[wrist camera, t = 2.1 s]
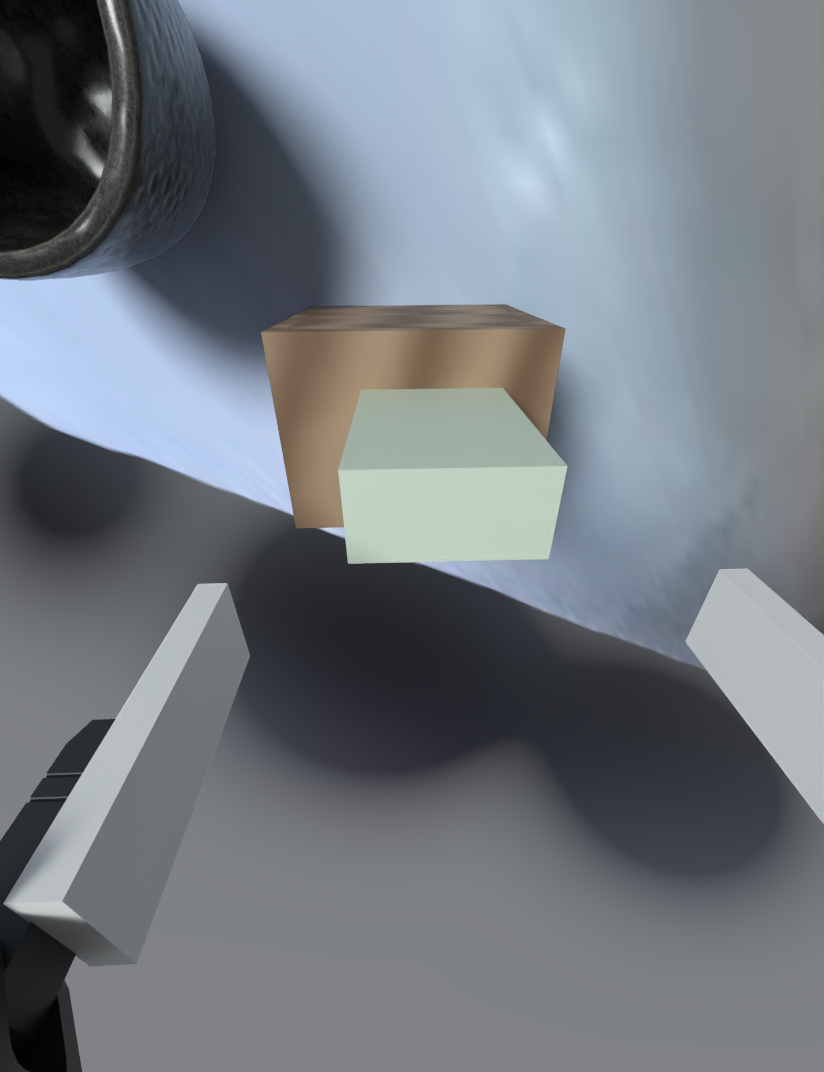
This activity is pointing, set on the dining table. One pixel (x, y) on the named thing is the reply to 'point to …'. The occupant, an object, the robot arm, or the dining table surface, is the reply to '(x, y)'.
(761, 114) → the dining table surface
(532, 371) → the wood-grain box
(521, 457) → the pale green block
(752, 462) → the dining table surface
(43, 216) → the planter
